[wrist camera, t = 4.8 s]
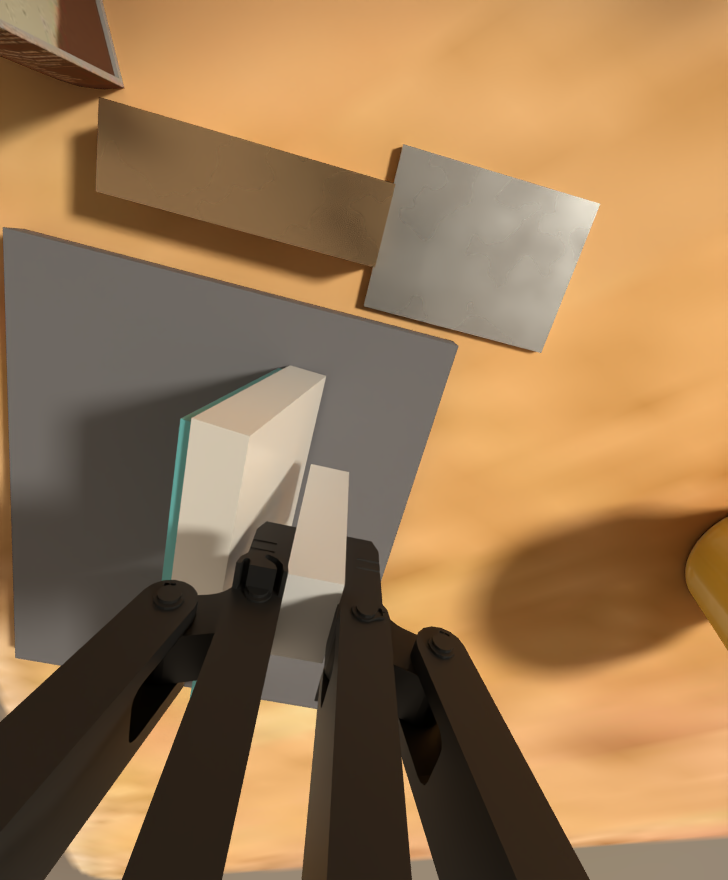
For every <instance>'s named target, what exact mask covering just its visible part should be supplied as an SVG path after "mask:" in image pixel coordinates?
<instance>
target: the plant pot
mask: <svg viewBox="0 0 728 880" xmlns="http://www.w3.org/2000/svg"><path fill="white" fill-rule="evenodd" d="M685 578H686V583H687V587H688V589H689V591H690V593H691V595H692V596H693V598H694V599H695V601H696V602H697V604H698V606H699V607H700V609H701V610H702V612H703V613H704V615H705V616H706V618H707V619H708V620H709V622H710V623H711V625H712V627H713V628H714V630H715V631H716V633H717V634H718V636H719V638H720V639H721V641H722V642H723V644H724V645H725V647H726V648H727V650H728V517H726V518H725V519H723V520H721V521H719V522H718V523H716V524H715V525H714V526H712V527H711V528H710V529H709V530H708V531H706V532H705V533H704V534H703V536H702V537H701V538H700V539H699V540H698V541H697V543H696V544H695V546H694V547H693V549H692V551H691V553H690V555H689V557H688V560H687V563H686V569H685Z"/></svg>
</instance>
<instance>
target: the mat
mask: <svg viewBox="0 0 728 880" xmlns="http://www.w3.org/2000/svg"><path fill="white" fill-rule="evenodd" d="M3 250H4V285H5V319H6V353H7V387H8V421H9V455H10V489H11V524H12V558H13V592H14V626H15V658H19V659H25V660H31V661H37V662H43V663H49V664H54V665H60V666H62V665H63V664H64V663H65V662H66V661H67V660H68V659H69V658H70V657H71V656H72V655H74V654H75V653H76V652H77V651H78V650H79V649H80V648H81V647H82V646H83V645H84V644H85V643H87V642H88V641H89V640H90V639H91V638H92V637H93V636H94V635H95V634H96V633H97V632H98V631H100V630H101V629H102V628H103V627H104V626H105V625H106V624H107V623H108V622H109V621H110V620H111V619H113V618H114V617H115V616H116V615H117V614H118V613H119V612H120V611H121V610H122V609H123V608H124V607H126V606H127V605H128V604H129V603H130V602H131V601H132V600H133V599H134V598H135V597H136V596H137V595H139V594H140V593H141V592H142V591H143V590H144V589H145V588H147V587H148V586H150V585H151V584H153V583H156V582H160V581H162V574H163V565H164V557H165V548H166V539H167V531H168V522H169V513H170V505H171V496H172V487H173V479H174V470H175V461H176V453H177V444H178V435H179V427H180V419H181V418H183V417H185V416H186V415H188V414H190V413H192V412H194V411H196V410H198V409H200V408H202V407H204V406H206V405H208V404H210V403H212V402H214V401H216V400H217V399H219V398H221V397H223V396H225V395H227V394H229V393H231V392H233V391H235V390H237V389H239V388H241V387H243V386H245V385H247V384H248V383H250V382H252V381H254V380H256V379H258V378H260V377H262V376H264V375H266V374H268V373H270V372H272V371H274V370H276V369H278V368H280V369H284V368H286V367H288V366H290V365H291V366H294V367H298V368H301V369H304V370H308V371H311V372H315V373H318V374H321V375H325V376H326V379H325V384H324V388H323V392H322V397H321V401H320V405H319V410H318V414H317V418H316V423H315V427H314V431H313V436H312V440H311V444H310V449H309V453H308V457H307V462H306V466H305V470H304V475H303V479H302V484H301V488H300V492H299V497H298V501H297V505H296V510H295V514H294V518H293V523H292V526H293V527H297V524H298V519H299V515H300V510H301V506H302V502H303V497H304V493H305V488H306V484H307V479H308V475H309V471H310V466H311V464H314V465H318V466H323V467H327V468H332V469H337V470H341V471H346V472H349V487H348V513H347V537H352V538H357V539H362V540H367V541H372V542H373V544H374V546H375V547H376V549H377V550H378V552H379V565H380V579H382V576H383V573H384V570H385V567H386V564H387V561H388V558H389V555H390V552H391V549H392V546H393V543H394V540H395V537H396V534H397V531H398V528H399V525H400V522H401V519H402V516H403V513H404V510H405V506H406V503H407V500H408V497H409V494H410V491H411V488H412V485H413V482H414V479H415V476H416V473H417V470H418V467H419V464H420V461H421V458H422V455H423V452H424V449H425V446H426V443H427V440H428V437H429V434H430V431H431V428H432V425H433V422H434V418H435V415H436V412H437V409H438V406H439V403H440V400H441V397H442V394H443V391H444V388H445V385H446V382H447V379H448V376H449V373H450V370H451V367H452V364H453V361H454V358H455V355H456V352H457V349H458V345H457V344H455V343H454V342H453V341H450V340H447V339H443V338H439V337H435V336H431V335H427V334H424V333H420V332H416V331H412V330H408V329H404V328H401V327H397V326H393V325H389V324H385V323H382V322H378V321H374V320H370V319H366V318H362V317H359V316H355V315H351V314H347V313H343V312H339V311H336V310H332V309H328V308H324V307H320V306H317V305H313V304H309V303H305V302H301V301H297V300H294V299H290V298H286V297H282V296H278V295H274V294H271V293H267V292H263V291H259V290H255V289H252V288H248V287H244V286H240V285H236V284H232V283H229V282H225V281H221V280H217V279H213V278H210V277H206V276H202V275H198V274H194V273H190V272H187V271H183V270H179V269H175V268H171V267H167V266H164V265H160V264H156V263H152V262H148V261H145V260H141V259H137V258H133V257H129V256H125V255H122V254H118V253H114V252H110V251H106V250H102V249H99V248H95V247H91V246H87V245H83V244H80V243H76V242H72V241H68V240H64V239H60V238H57V237H53V236H49V235H45V234H41V233H37V232H34V231H30V230H26V229H17V228H6V227H3ZM324 662H325V656H324V659H323V663H316V662H310V661H305V660H299V659H293V658H287V657H282V656H276V655H270V659H269V663H268V668H267V673H266V677H265V682H264V687H263V691H262V696H261V700H267V701H273V702H279V703H285V704H290V705H296V706H302V707H308V708H314V709H317V707H318V701H314V699H315V696H316V692H317V689H318V685H319V682H320V679H321V675H322V672H323V668H324ZM192 682H193V681H189V682H185V684H184V687H190V688H192Z"/></svg>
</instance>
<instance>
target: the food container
mask: <svg viewBox="0 0 728 880" xmlns="http://www.w3.org/2000/svg"><path fill="white" fill-rule="evenodd" d="M0 56H2V57H4V58H6V59H9V60H11V61H14V62H16V63H19V64H21V65H24V66H26V67H29V68H31V69H33V70H36V71H38V72H41V73H43V74H46V75H48V76H51V77H53V78H56V79H58V80H61V81H64V82H68V83H71V84H74V85H77V86H81V87H89V88H96V89H117V88H124V85H123V81H122V77H121V73H120V69H119V65H118V61H117V57H116V53H115V49H114V45H113V41H112V37H111V33H110V29H109V25H108V21H107V17H106V13H105V9H104V5H103V1H102V0H0Z"/></svg>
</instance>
